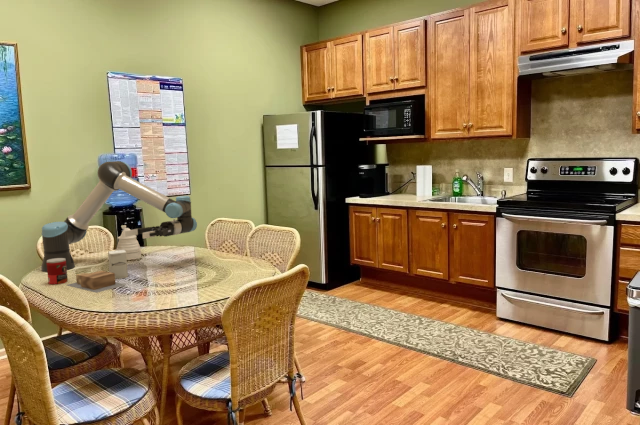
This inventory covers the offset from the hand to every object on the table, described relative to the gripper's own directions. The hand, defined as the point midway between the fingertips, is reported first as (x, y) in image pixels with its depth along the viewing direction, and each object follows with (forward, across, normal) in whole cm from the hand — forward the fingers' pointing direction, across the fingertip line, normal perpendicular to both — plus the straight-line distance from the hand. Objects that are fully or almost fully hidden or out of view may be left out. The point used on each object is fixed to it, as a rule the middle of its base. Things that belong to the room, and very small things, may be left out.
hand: (134, 234), depth 236 cm
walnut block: (+24, +6, +18) cm, 31 cm away
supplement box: (+10, 0, +19) cm, 21 cm away
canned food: (+30, -16, +19) cm, 39 cm away
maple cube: (+25, -4, +18) cm, 31 cm away
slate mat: (+24, +4, +19) cm, 31 cm away
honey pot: (-21, -37, +19) cm, 47 cm away
